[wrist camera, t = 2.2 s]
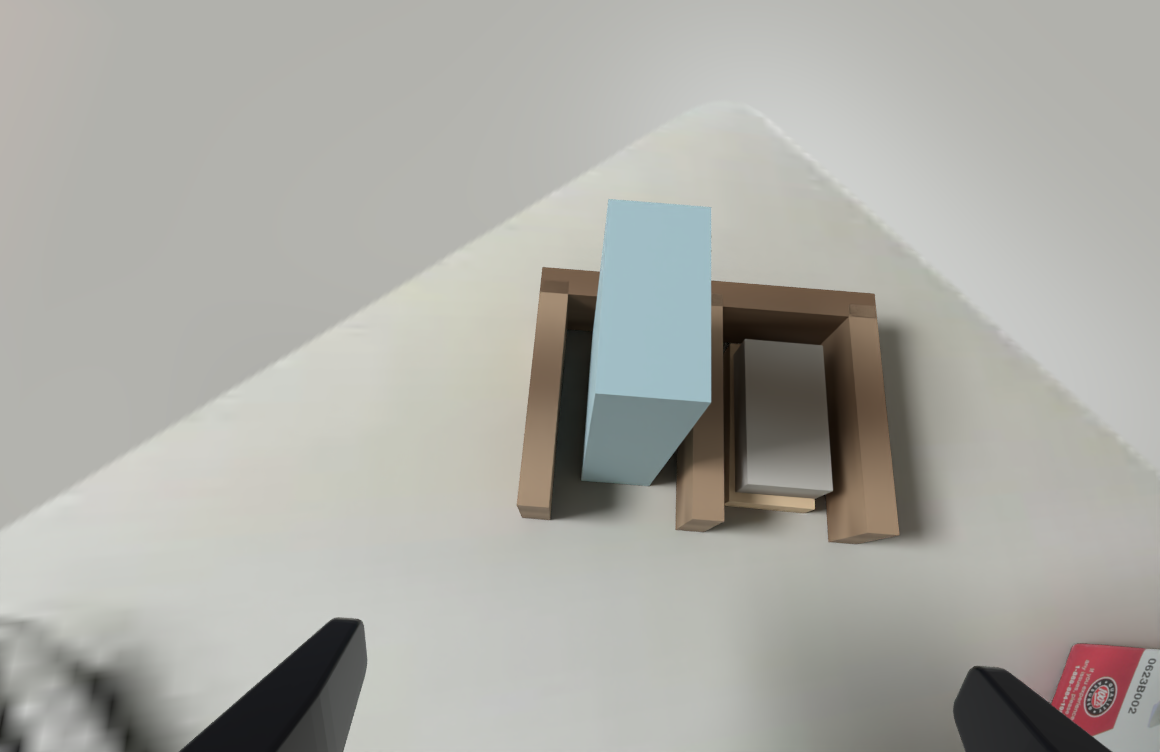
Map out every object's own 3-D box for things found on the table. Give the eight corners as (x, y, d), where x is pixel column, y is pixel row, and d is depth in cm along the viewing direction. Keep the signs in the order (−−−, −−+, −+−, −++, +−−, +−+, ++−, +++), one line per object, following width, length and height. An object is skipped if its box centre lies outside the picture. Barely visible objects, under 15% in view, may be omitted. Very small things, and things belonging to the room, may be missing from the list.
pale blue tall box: (649, 485, 23) (711, 402, 13) (581, 480, 23) (595, 393, 13) (653, 359, 24) (711, 207, 15) (590, 354, 24) (608, 198, 15)
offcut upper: (814, 498, 22) (833, 491, 20) (735, 492, 22) (747, 484, 20) (807, 361, 23) (822, 345, 22) (733, 355, 23) (744, 338, 22)
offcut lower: (799, 514, 23) (815, 509, 22) (718, 507, 23) (729, 501, 22) (794, 364, 25) (808, 350, 24) (720, 357, 25) (729, 343, 24)
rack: (856, 544, 22) (899, 535, 19) (522, 517, 22) (516, 505, 19) (839, 328, 25) (874, 293, 22) (544, 304, 25) (542, 267, 22)
